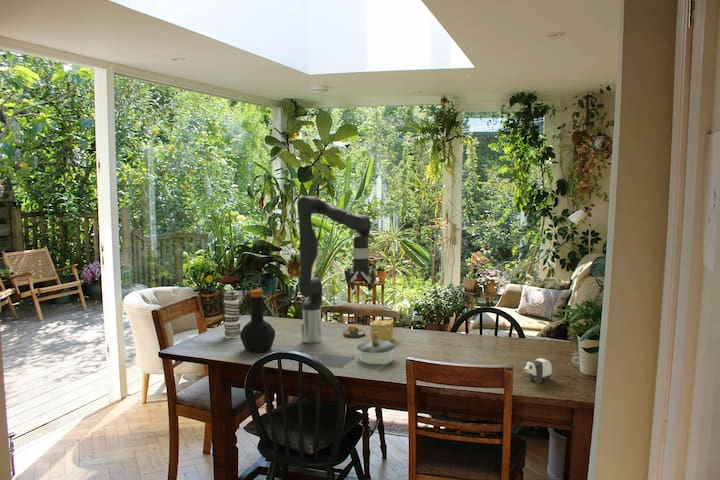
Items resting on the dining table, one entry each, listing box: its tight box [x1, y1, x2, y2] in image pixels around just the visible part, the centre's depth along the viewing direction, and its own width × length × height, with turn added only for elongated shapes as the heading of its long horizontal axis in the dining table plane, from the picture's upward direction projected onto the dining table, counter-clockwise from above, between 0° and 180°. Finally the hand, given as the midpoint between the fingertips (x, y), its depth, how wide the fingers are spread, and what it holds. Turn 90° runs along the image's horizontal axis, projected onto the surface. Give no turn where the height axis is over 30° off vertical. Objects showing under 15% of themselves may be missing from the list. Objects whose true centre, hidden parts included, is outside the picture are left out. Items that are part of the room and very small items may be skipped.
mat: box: [316, 353, 356, 369], centre depth 262 cm, size 16×16×1 cm
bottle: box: [239, 289, 276, 354], centre depth 282 cm, size 16×16×30 cm
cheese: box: [370, 319, 394, 343], centre depth 294 cm, size 10×11×10 cm
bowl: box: [359, 349, 393, 365], centre depth 264 cm, size 15×15×6 cm
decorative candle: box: [222, 289, 242, 339], centre depth 306 cm, size 9×9×25 cm
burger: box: [342, 323, 366, 339], centre depth 307 cm, size 12×12×8 cm
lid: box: [356, 332, 395, 353], centre depth 263 cm, size 17×17×7 cm
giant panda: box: [523, 357, 553, 385], centre depth 233 cm, size 15×6×10 cm, turn 125°
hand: (361, 290), depth 277 cm, fingers open, 8 cm apart
